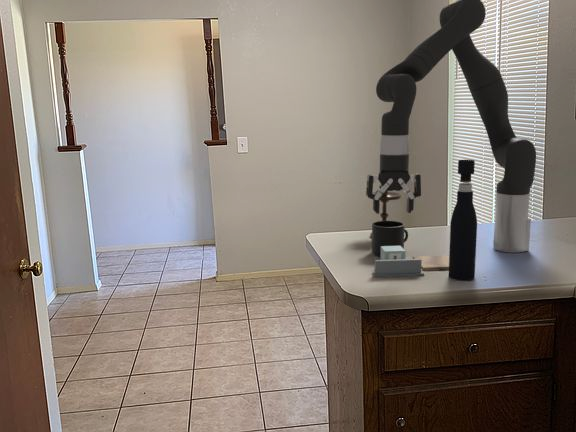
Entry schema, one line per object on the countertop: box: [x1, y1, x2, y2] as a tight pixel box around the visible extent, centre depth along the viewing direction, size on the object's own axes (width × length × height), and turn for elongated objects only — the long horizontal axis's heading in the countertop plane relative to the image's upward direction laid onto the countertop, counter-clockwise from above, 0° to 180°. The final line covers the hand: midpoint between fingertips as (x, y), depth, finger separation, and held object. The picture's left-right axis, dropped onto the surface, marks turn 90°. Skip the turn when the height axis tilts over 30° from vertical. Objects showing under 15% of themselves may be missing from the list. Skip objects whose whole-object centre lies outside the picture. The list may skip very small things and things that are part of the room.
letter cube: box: [380, 246, 406, 260], centre depth 153 cm, size 6×6×6 cm
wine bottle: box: [448, 159, 478, 282], centre depth 142 cm, size 6×6×30 cm
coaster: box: [412, 254, 449, 271], centre depth 156 cm, size 11×11×1 cm
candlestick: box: [367, 190, 402, 239], centre depth 185 cm, size 11×11×35 cm
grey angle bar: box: [372, 258, 425, 278], centre depth 147 cm, size 13×3×4 cm, turn 92°
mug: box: [371, 220, 409, 258], centre depth 168 cm, size 9×12×9 cm
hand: (392, 212), depth 151 cm, fingers open, 8 cm apart
